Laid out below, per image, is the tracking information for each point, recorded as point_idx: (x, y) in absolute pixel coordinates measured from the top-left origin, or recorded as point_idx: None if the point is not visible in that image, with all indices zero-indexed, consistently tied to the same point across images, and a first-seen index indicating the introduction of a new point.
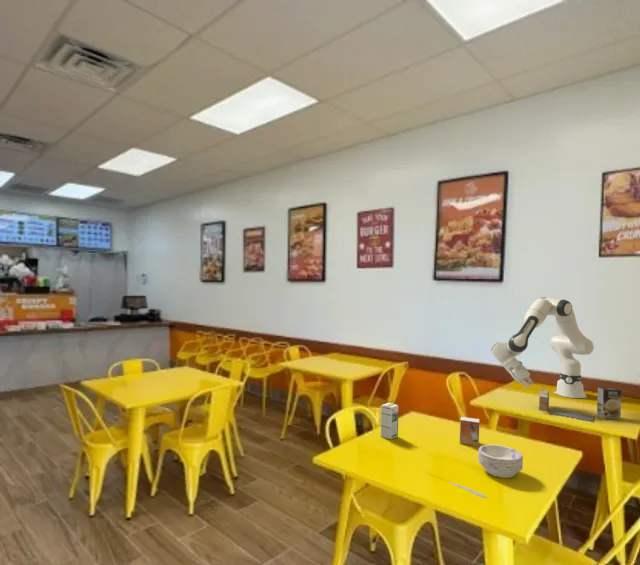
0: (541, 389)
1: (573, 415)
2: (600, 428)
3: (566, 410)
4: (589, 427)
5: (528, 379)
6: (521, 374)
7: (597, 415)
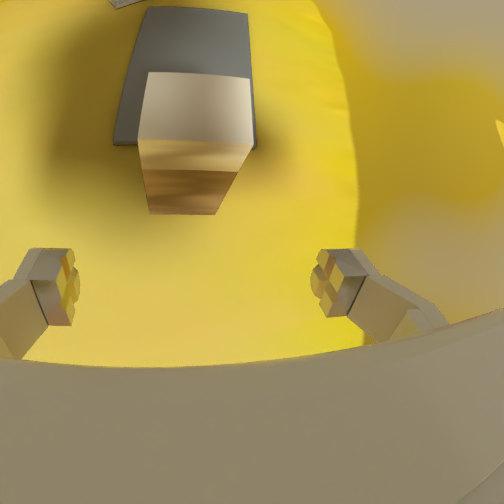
0: (142, 139)
1: (215, 54)
2: (310, 15)
3: (125, 83)
4: (331, 37)
5: (2, 345)
6: (485, 417)
7: (122, 6)
